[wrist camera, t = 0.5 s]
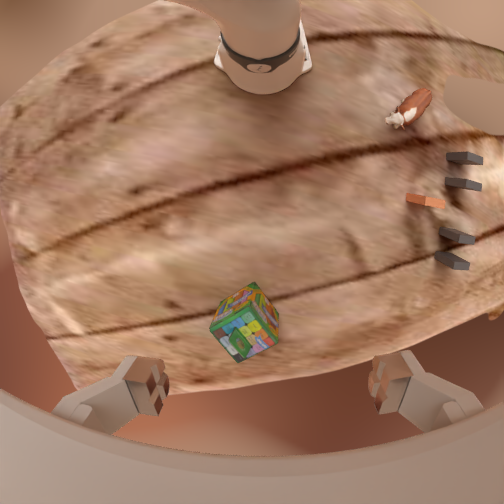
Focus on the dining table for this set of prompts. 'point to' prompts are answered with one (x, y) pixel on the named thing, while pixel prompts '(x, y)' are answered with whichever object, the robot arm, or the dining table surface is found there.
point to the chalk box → (246, 323)
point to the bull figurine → (410, 108)
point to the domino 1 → (425, 200)
